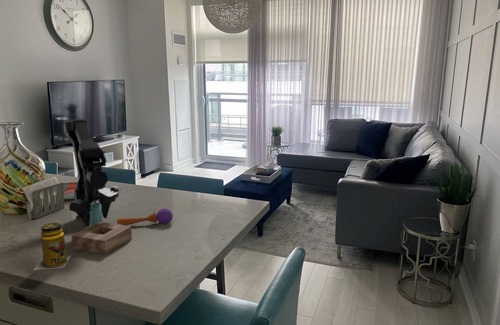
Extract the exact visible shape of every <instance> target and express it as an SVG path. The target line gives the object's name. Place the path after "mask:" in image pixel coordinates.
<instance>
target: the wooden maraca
mask: <svg viewBox="0 0 500 325" xmlns="http://www.w3.org/2000/svg"><path fill="white" fill-rule="evenodd" d="M173 217H174V216H173V212H172V210H170V209H169V208H165V207H163V208H161V209H159V210H158V211H157V213H156V211H154V212H152V213H151V214H150V215H148V216H147V217H129V218H127V217H125V218H117V219H116V224H119V225H126V226H131V225H134V224H138V223H142V222H145V221H147V222H150V223H155V224H157V222H158V223H160V224H162V225H167V224H169V223H171V221H172V220H173Z"/></svg>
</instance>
